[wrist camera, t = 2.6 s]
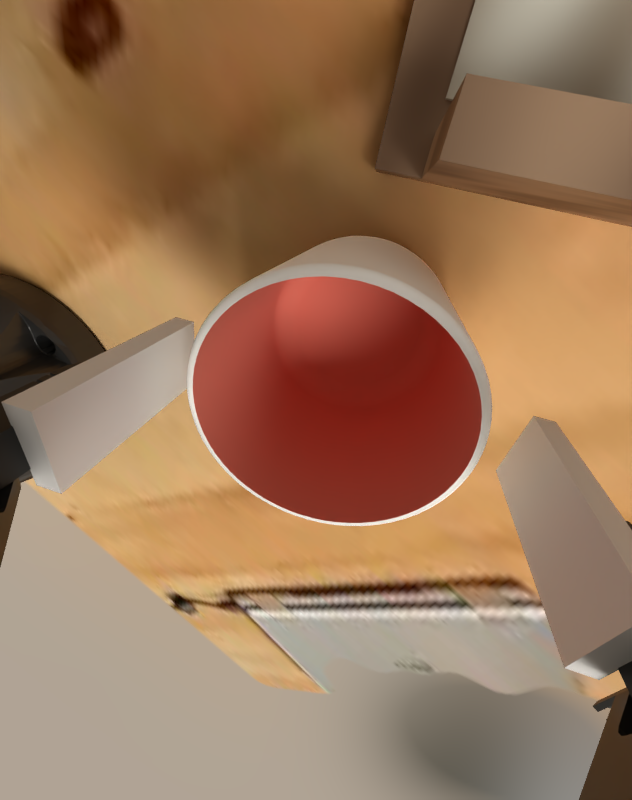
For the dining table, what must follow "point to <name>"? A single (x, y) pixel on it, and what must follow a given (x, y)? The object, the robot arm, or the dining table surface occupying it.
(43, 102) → the dining table surface
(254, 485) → the cup
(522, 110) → the holder
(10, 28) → the dining table surface
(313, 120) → the dining table surface
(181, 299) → the dining table surface
